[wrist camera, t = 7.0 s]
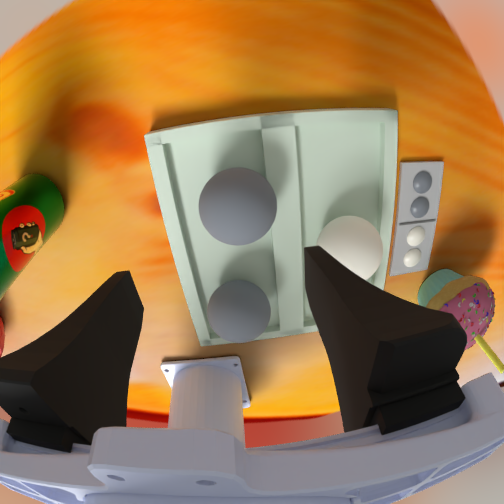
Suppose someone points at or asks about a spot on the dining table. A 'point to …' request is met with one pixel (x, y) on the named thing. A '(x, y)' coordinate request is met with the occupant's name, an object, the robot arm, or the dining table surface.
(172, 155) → the rack
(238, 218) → the charcoal ball front
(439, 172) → the card
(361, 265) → the cream ball middle
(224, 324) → the charcoal ball back
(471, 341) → the cupcake
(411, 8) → the dining table surface
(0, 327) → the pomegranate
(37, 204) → the soda can
